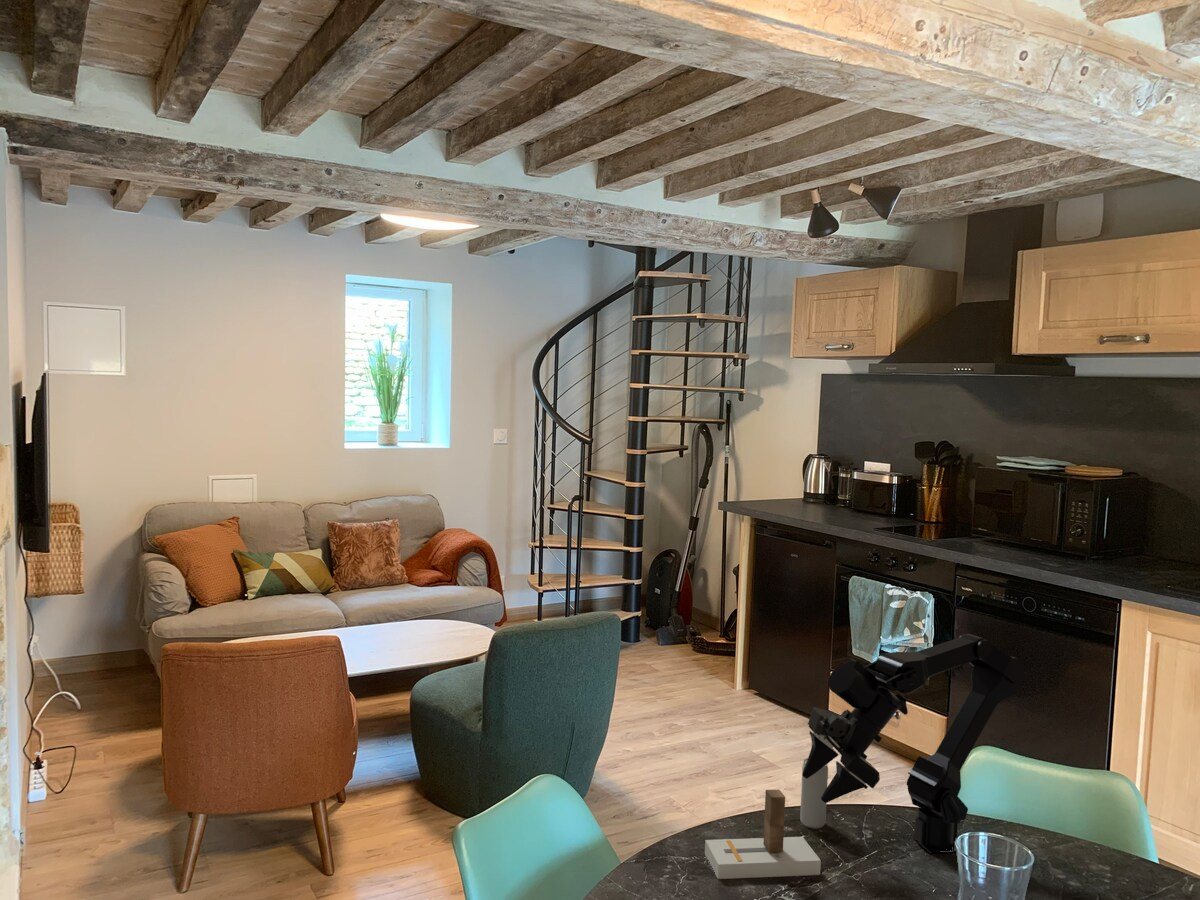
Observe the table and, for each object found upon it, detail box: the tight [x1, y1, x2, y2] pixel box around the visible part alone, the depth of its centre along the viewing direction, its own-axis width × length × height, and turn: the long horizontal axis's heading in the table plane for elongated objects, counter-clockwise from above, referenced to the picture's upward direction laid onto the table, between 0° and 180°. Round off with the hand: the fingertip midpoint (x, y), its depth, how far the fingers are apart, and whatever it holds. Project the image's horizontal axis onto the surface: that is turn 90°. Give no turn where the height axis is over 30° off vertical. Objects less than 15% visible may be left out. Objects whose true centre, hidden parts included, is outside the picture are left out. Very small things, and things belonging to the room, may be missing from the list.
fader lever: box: [763, 789, 786, 852], centre depth 156 cm, size 2×3×10 cm
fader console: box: [704, 836, 822, 880], centre depth 156 cm, size 18×9×3 cm, turn 98°
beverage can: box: [799, 757, 829, 830], centre depth 172 cm, size 5×5×12 cm
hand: (813, 788), depth 158 cm, fingers open, 9 cm apart
